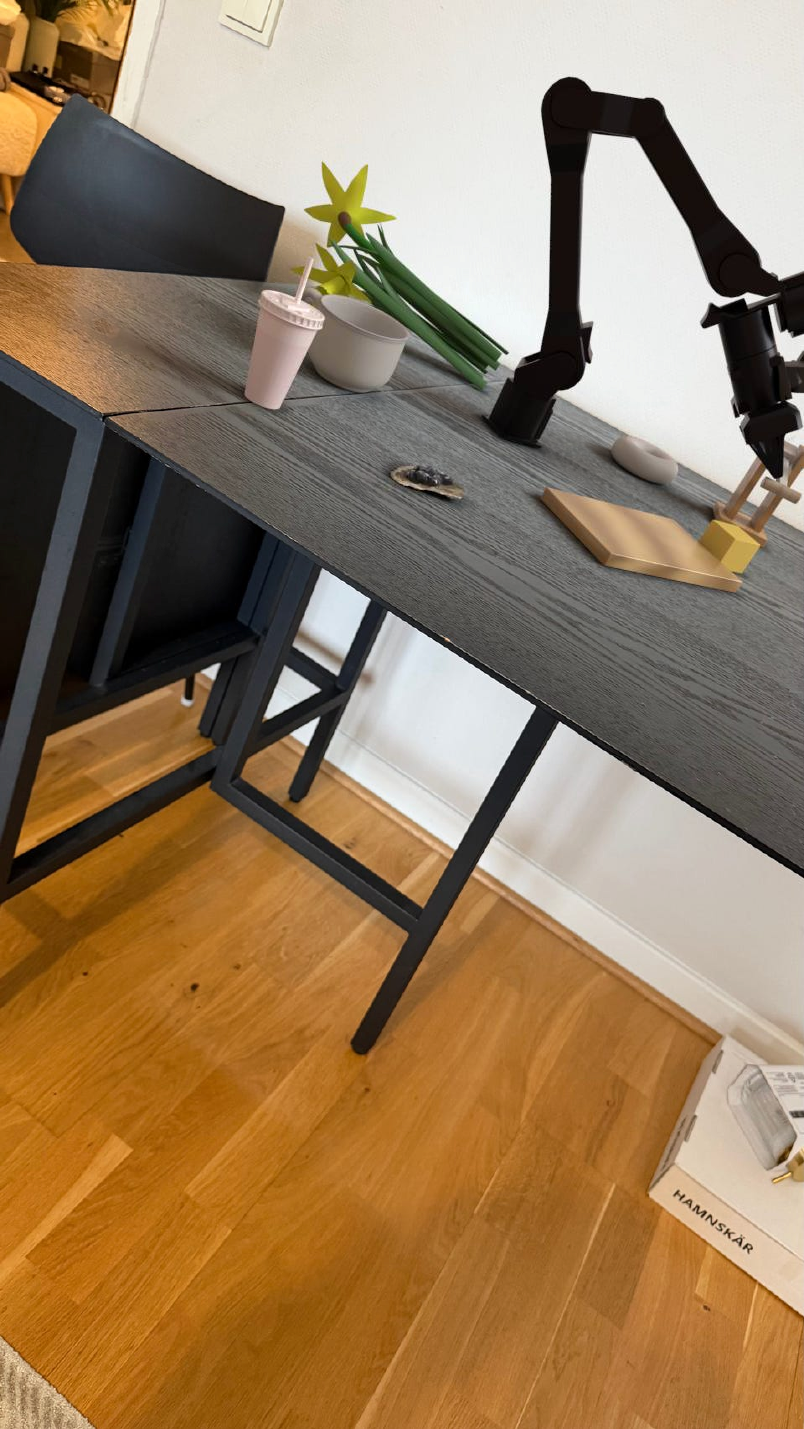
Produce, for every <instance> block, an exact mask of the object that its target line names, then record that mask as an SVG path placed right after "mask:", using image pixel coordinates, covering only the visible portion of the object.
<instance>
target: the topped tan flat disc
mask: <svg viewBox="0 0 804 1429" xmlns="http://www.w3.org/2000/svg"><path fill="white" fill-rule="evenodd" d="M390 477H391V478H392V479H393V480H394V481H396V483H398V484H401V485H403V486H407V487H408V486H410V487H411V488H413V489H415V490H416V489H417V490H419V491H421V490H422V491H425V490H427V491H432V492H435V493H437V494H440V495H444V496H446V497H447V498H448V499H449V498H450V499H451V500H455V501H461V500H462V499H463V498H464V494H465V493H466V490H465V488H464V487H461V486H462V485H460V484H459V482H456V481H454V478H453V476H451V475H449V474H446V473H445V472H443V471H442V470H440V469H436V467H435V466H434V465H428V466H426V464H417V465H405V466H404V465H401V466H397V467H396V469H395V468H394V470H393V471H390Z"/></svg>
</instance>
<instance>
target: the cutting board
mask: <svg viewBox="0 0 804 1429" xmlns="http://www.w3.org/2000/svg"><path fill="white" fill-rule="evenodd" d="M540 500H541V501H542V502H543V503H544V504H545V505H546V507H548V508H549V509H550V511H551V512H552V513H553V514H554V515H555V516H556V517H557V518H558V519H559V520H560V522H562V523H563V524H564V526H566V528H567V529H569V530H570V532H571V533H572V534H573V535H574V536H575V537H576V538H577V539H578V540H579V541H580V542H581V543H582V544H583V545H584V546H585V548H586V549H588V551H589V552H590V553H591V554H592V555H593V556H594V557H595V558H596V559H597V560H598V562H600V563H601V565H602V566H603V567H604V566H605V567H608V568H615V569H619V570H624V571H628V572H634V573H638V574H643V575H647V576H651V577H656V578H657V577H658V578H661V579H667V580H671V581H677V582H680V583H686V584H691V585H696V586H700V587H705V588H710V589H713V590H714V589H715V590H718V591H719V590H720V591H725V592H730V593H734V594H736V593H737V592H738V590H739V589H740V587H741V585H742V584H743V581H742V579H740V578H739V577H738V576H737V575H736V574H735V573H734V572H732V571H730V570H729V569H728V568H727V567H726V566H724V565H723V564H722V563H721V562H720V561H719V560H718V559H717V558H716V557H714V556H713V555H712V554H711V553H710V552H709V551H708V550H707V549H706V548H704V547H703V546H702V545H701V544H700V543H699V540H697V539H696V538H695V537H694V536H692V535H691V534H690V533H689V532H688V531H687V530H686V529H684V527H682V526H681V525H680V524H679V523H678V522H677V521H676V520H674V519H673V518H669V517H666V516H662V515H659V514H658V515H657V514H653V513H650V512H645V511H643V510H642V511H641V510H638V509H634V508H631V507H626V506H623V505H619V504H615V503H610V502H607V501H603V500H599V499H595V498H592V497H586V496H583V495H579V494H575V493H571V492H569V491H564V490H560V489H555V488H551V487H548V486H546V487H545V488H544V490H543V492H542V494H541V496H540Z"/></svg>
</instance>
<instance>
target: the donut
mask: <svg viewBox="0 0 804 1429" xmlns="http://www.w3.org/2000/svg"><path fill="white" fill-rule="evenodd" d="M611 454H612V457H613V459H614V460H615V462H616V463H617V464H618V465H619V466H621V467H622V468H623V469H625V470H626V471H628V472H629V473H631V474H633V475H635V476H637V477H639V478H640V479H643V480H644V481H648V482H651V483H653V484H659V485H666V484H669V483H671V482H673V481H674V480H675V479H676V477H677V475H678V473H679V465H678V463H677V462H676V459H675V458H674V457H672V456H671V455H670V454H669V453H668V452H666V451H665V450H663V449H661V448H660V447H659V446H657V445H655V444H653V443H651V442H649V441H646V440H644V439H641V438H639V437H637V436H632V435H623V436H619V437H618V438H616V439H615V441H614V443H613V444H612V446H611Z"/></svg>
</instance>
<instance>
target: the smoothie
mask: <svg viewBox="0 0 804 1429" xmlns="http://www.w3.org/2000/svg"><path fill="white" fill-rule="evenodd" d="M314 261H315V258H314V257H311V256H308V258H307V259H306V263H305V266H304V267H305V269H304V272H303V275H302V276H301V278H300V280H299V284H298V288H297V290H296V294H295V296H292V295H289V294H287V293H285V292H280V291H277V290H273V289H265V290H262V291H261V293H260V296H259V299H258V301H257V303H258V305H259V306H260V308H259V312H258V318H257V323H256V330H255V335H254V339H253V345H252V350H251V357H250V362H249V367H248V373H247V377H246V382H245V383H246V384H245V387H244V388H245V389H244V397H245V398H246V399H247V400H249V402H251V403H253V404H255V405H258V406H260V407H262V408H266V409H269V410H279V409H280V408H281V406H282V405H283V402H284V401H285V398H286V396H287V394H288V392H289V389H290V388H291V386H292V384H293V382H294V380H295V377H296V376H297V374H298V371H299V370H300V367H301V365H302V364H303V361H304V359H305V357H306V355H307V354H308V349H309V347H310V345H311V343H312V341H313V338H314V336H315V334H316V332H317V330H320V329H322V325H323V322H324V319H325V317H324V315H323V314H322V313H321V312H320V311H319V310H317V309H316V308H314V307H313V306H312V305H311V304H309V303H307V302H306V301H305V300H304V301H302V300H301V297H302V294H303V291H304V288H306V286H307V283H308V276H309V273H310V270H311V267H312V266H313V264H314ZM312 268H313V267H312Z"/></svg>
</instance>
